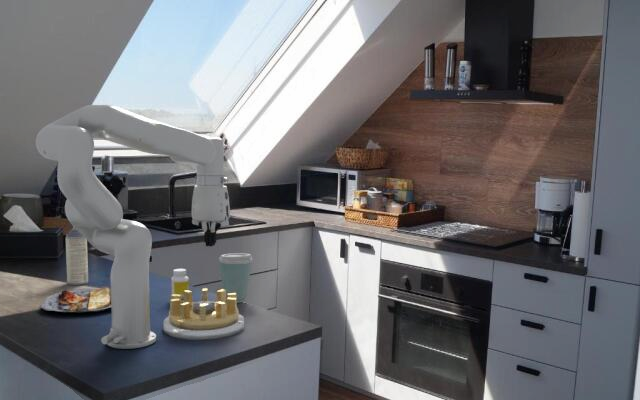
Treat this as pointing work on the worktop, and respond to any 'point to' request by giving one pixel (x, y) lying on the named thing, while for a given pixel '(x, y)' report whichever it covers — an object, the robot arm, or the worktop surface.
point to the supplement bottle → (179, 282)
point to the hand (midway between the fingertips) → (210, 245)
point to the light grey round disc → (203, 331)
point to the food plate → (79, 300)
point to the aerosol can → (76, 258)
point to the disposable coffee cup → (235, 273)
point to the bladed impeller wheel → (203, 311)
